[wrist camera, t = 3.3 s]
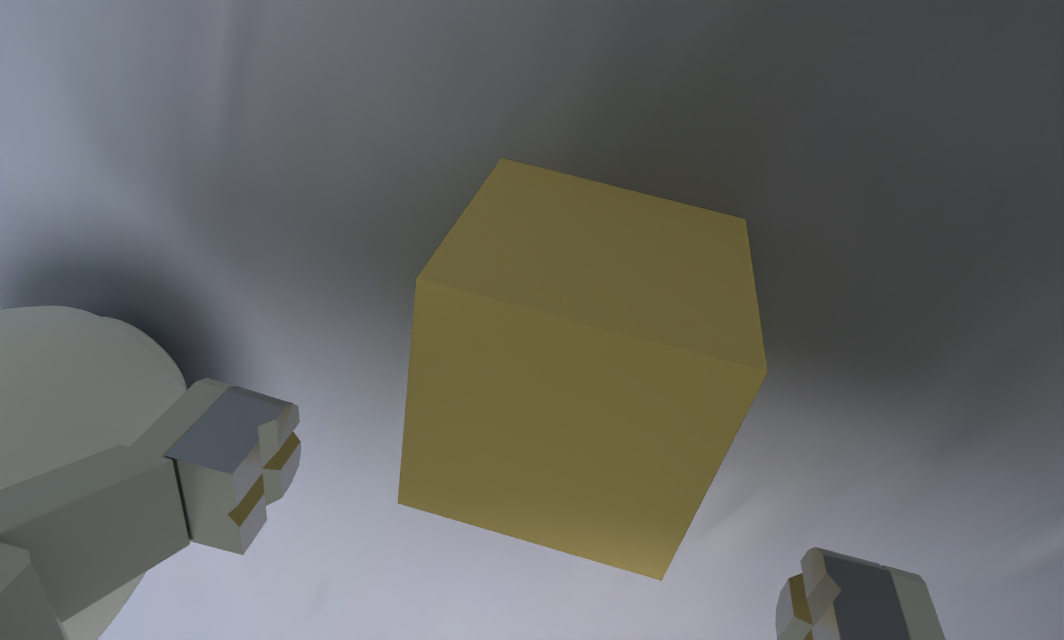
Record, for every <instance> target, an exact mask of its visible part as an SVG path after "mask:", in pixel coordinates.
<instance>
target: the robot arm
mask: <svg viewBox="0 0 1064 640" xmlns="http://www.w3.org/2000/svg"><path fill="white" fill-rule="evenodd" d="M299 422H300V420H299V409H298V406H297V405H295V404H293V403H290V402H287V401H284V400H280V399H277V398H274V397H270V396H267V395H264V394H261V393H257V392H254V391H251V390H247V389H244V388H241V387H238V386H233V385H230V384H226V383H223V382H219V381H216V380H213V379H209V378H204V379H201V380H199V381H197V382H195V383H194V384H193V385H192V386H191V387H190V388H189V389H188V390H187V391H186V392H185V393H184V394H183V395H182V396H181V397H180V398H179V399H178V400H177V401H175V402H174V403H173V404H172V405H171V406H170V407H169V408H168V409H167V410H166V411H165V412H164V413H163V414H162V415H161V416H160V417H159V418H158V419H157V420H156V421H155V422H154V423H153V424H152V425H151V426H150V427H149V428H148V429H147V430H146V431H145V432H144V433H143V434H142V435H141V436H140V437H139V438H138V439H137V440H136V441H135V442H134V443H133V444H132V445H131V446H130V447H127V446H123V445H118V446H115V447H112V448H110V449H107V450H104V451H102V452H99V453H96V454H94V455H91V456H88V457H86V458H83V459H80V460H78V461H75V462H73V463H70V464H67V465H65V466H62V467H59V468H57V469H54V470H51V471H49V472H46V473H43V474H41V475H38V476H35V477H33V478H30V479H28V480H25V481H22V482H20V483H17V484H14V485H12V486H9V487H6V488H4V489H1V490H0V640H69V638H68V636H67V634H66V632H65V629H64V627H63V625H62V623H63V622H64V621H66V620H68V619H69V618H71V617H72V616H74V615H76V614H77V613H79V612H81V611H82V610H84V609H85V608H87V607H89V606H90V605H92V604H94V603H95V602H97V601H98V600H100V599H102V598H103V597H105V596H107V595H108V594H110V593H111V592H113V591H115V590H116V589H118V588H120V587H121V586H123V585H125V584H126V583H128V582H129V581H131V580H133V579H134V578H136V577H138V576H139V575H141V574H142V573H144V572H146V571H147V570H149V569H151V568H152V567H154V566H155V565H157V564H159V563H160V562H162V561H164V560H165V559H167V558H169V557H170V556H172V555H173V554H175V553H177V552H178V551H180V550H182V549H183V548H185V547H186V546H188V545H189V544H190V541H192V542H196V543H199V544H203V545H207V546H211V547H215V548H218V549H222V550H226V551H230V552H234V553H237V554H241V555H244V553H245V552H246V550H247V549H248V547H249V546H250V544H251V543H252V541H253V540H254V538H255V537H256V535H257V534H258V533H259V531H260V530H261V528H262V527H263V525H264V524H265V522H266V521H267V515H266V506H267V505H269V504H271V503H273V502H275V501H277V500H279V499H281V498H282V497H283V496H284V494H285V492H286V491H287V489H288V488H289V486H290V485H291V483H292V481H293V478H294V476H295V473H296V471H297V468H298V466H299V460H300V455H301V441H300V440H299V439H298V437H297V436H296V435H295V433H294V432H293V430H294V429H295V427H296V426H297V424H298V423H299ZM801 567H802V574H799V575H796V576H794V577H791V578H788V580H787V582H786V583H785V585H784V587H783V588H782V590H781V592H780V595H779V599H778V603H777V607H776V623H775V624H776V634H777V640H946V639H945V636H944V634H943V631H942V628H941V625H940V622H939V619H938V617H937V614H936V611H935V608H934V605H933V603H932V600H931V597H930V594H929V591H928V588H927V586H926V583H925V582H924V580H923V579H922V578H921V577H920V576H919V575H917V574H914V573H910V572H906V571H903V570H899V569H895V568H892V567H888V566H884V565H880V564H878V563H874V562H870V561H867V560H863V559H859V558H855V557H852V556H848V555H844V554H840V553H836V552H833V551H829V550H825V549H821V548H817V547H814V548H812V549H810V550H808V551H807V552H806V554H805V555H804V557H803V558H802V559H801Z"/></svg>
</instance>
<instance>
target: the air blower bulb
mask: <svg viewBox="0 0 1064 640" xmlns="http://www.w3.org/2000/svg"><path fill="white" fill-rule="evenodd" d="M186 391H187V388H186V384H185V380H184V378H183V376H182V373H181V371H180V369H179V368H178V367H177V365H176V364H175V362H174V361H173V359H172V358H171V357H170V356H169V355H168V354H167V352H166V351H165V350H164V349H163V348H162V347H161V346H160V345H159V344H157V343H156V342H155V341H154V340H153V339H152V338H150V337H149V336H148V335H146V334H145V333H144V332H142V331H141V330H139V329H137V328H136V327H134V326H132V325H131V324H128V323H126V322H123V321H121V320H119V319H114V318H110V317H100V316H97V315H95V314H93V313H90V312H88V311H85V310H80V309H76V308H72V307H67V306H33V307H20V308H10V309H2V310H0V490H1V489H4V488H6V487H9V486H12V485H14V484H17V483H20V482H22V481H25V480H28V479H30V478H33V477H35V476H38V475H41V474H43V473H46V472H49V471H51V470H54V469H57V468H59V467H62V466H65V465H67V464H70V463H73V462H75V461H78V460H80V459H83V458H86V457H88V456H91V455H94V454H96V453H99V452H102V451H104V450H107V449H110V448H112V447H115V446H118V445H123V446H127V447H130V446H131V445H132V444H133V443H134V442H135V441H136V440H137V439H138V438H139V437H140V436H141V435H142V434H143V433H144V432H145V431H146V430H147V429H148V428H149V427H150V426H151V425H152V424H153V423H154V422H155V421H156V420H157V419H158V418H159V417H160V416H161V415H162V414H163V413H164V412H165V411H166V410H167V409H168V408H169V407H170V406H171V405H172V404H173V403H174V402H175V401H177V400H178V399H179V398H180V397H181V396H182V395H183V394H184V393H185V392H186ZM146 572H147V571H146ZM146 572H144V573H142V574H141V575H139V576H138V577H136V578H134V579H133V580H131V581H129V582H128V583H126V584H125V585H123V586H121V587H120V588H118V589H116V590H115V591H113V592H111V593H110V594H108V595H107V596H105V597H103V598H102V599H100V600H98V601H97V602H95V603H94V604H92V605H90V606H89V607H87V608H85V609H84V610H82V611H81V612H79V613H77V614H76V615H74V616H72V617H71V618H69V619H68V620H66V621H64V622H63V623H62V625H63V627H64V629H65V632H66V634H67V636H68V638H69V640H98V638H99V637H100V636H101V635H102V633H103V632H104V631H105V630H106V628H107V627H108V626H109V625H110V623H111V622H112V621H113V619H114V618H115V617H116V615H117V614H118V613H119V611H120V610H121V609H122V607H123V606H124V604H125V603H126V602H127V600H128V599H129V598H130V596H131V595H132V593H133V592H134V590H135V589H136V587H137V586H138V584H139V583H140V581H141V580H142V578H143V577H144V575H145V573H146Z"/></svg>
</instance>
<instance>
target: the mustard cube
mask: <svg viewBox="0 0 1064 640" xmlns="http://www.w3.org/2000/svg"><path fill="white" fill-rule="evenodd" d="M767 373H768V371H767V364H766V357H765V350H764V343H763V336H762V329H761V322H760V315H759V308H758V302H757V295H756V288H755V281H754V274H753V267H752V260H751V253H750V246H749V239H748V232H747V225H746V219H743V218H740V217H736V216H732V215H728V214H724V213H720V212H716V211H712V210H708V209H704V208H700V207H696V206H692V205H688V204H684V203H680V202H676V201H672V200H668V199H664V198H660V197H656V196H652V195H648V194H644V193H640V192H636V191H632V190H628V189H624V188H620V187H616V186H612V185H608V184H604V183H600V182H596V181H592V180H588V179H584V178H580V177H576V176H572V175H568V174H564V173H560V172H556V171H552V170H548V169H544V168H540V167H536V166H532V165H528V164H524V163H520V162H516V161H512V160H508V159H504V158H501V159H500V161H499V162H498V163H497V165H496V166H495V168H494V169H493V170H492V172H491V173H490V175H489V176H488V178H487V179H486V180H485V182H484V183H483V185H482V186H481V187H480V189H479V190H478V192H477V193H476V195H475V196H474V197H473V199H472V200H471V202H470V203H469V204H468V206H467V207H466V209H465V210H464V212H463V213H462V214H461V216H460V217H459V219H458V220H457V221H456V223H455V224H454V226H453V227H452V229H451V230H450V231H449V233H448V234H447V236H446V237H445V238H444V240H443V241H442V243H441V244H440V246H439V247H438V248H437V250H436V251H435V253H434V254H433V255H432V257H431V258H430V260H429V261H428V262H427V264H426V265H425V267H424V268H423V270H422V271H421V272H420V274H419V275H418V277H417V278H416V287H415V300H414V312H413V324H412V336H411V348H410V360H409V372H408V385H407V397H406V409H405V421H404V433H403V445H402V458H401V470H400V482H399V494H398V503H399V504H402V505H406V506H409V507H412V508H416V509H419V510H423V511H426V512H429V513H433V514H436V515H440V516H443V517H447V518H450V519H453V520H457V521H460V522H464V523H467V524H470V525H474V526H477V527H481V528H484V529H487V530H491V531H494V532H498V533H501V534H504V535H508V536H511V537H515V538H518V539H522V540H525V541H528V542H532V543H535V544H539V545H542V546H545V547H549V548H552V549H556V550H559V551H562V552H566V553H569V554H573V555H576V556H579V557H583V558H586V559H590V560H593V561H596V562H600V563H603V564H607V565H610V566H614V567H617V568H620V569H624V570H627V571H631V572H634V573H637V574H641V575H644V576H648V577H651V578H654V579H658V580H662V579H663V577H664V575H665V573H666V571H667V569H668V567H669V565H670V563H671V561H672V559H673V557H674V555H675V553H676V551H677V549H678V547H679V545H680V543H681V541H682V539H683V537H684V535H685V533H686V532H687V530H688V528H689V526H690V524H691V522H692V520H693V518H694V516H695V514H696V512H697V510H698V508H699V506H700V504H701V502H702V500H703V498H704V496H705V494H706V492H707V490H708V488H709V486H710V485H711V483H712V481H713V479H714V477H715V475H716V473H717V471H718V469H719V467H720V465H721V463H722V461H723V459H724V457H725V455H726V453H727V451H728V449H729V447H730V445H731V443H732V441H733V440H734V438H735V436H736V434H737V432H738V430H739V428H740V426H741V424H742V422H743V420H744V418H745V416H746V414H747V412H748V410H749V408H750V406H751V404H752V402H753V400H754V398H755V396H756V394H757V393H758V391H759V389H760V387H761V385H762V383H763V381H764V379H765V377H766V375H767Z"/></svg>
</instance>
